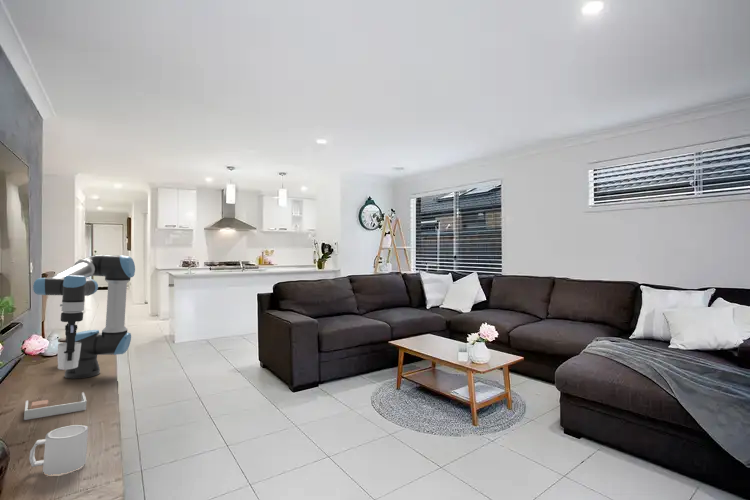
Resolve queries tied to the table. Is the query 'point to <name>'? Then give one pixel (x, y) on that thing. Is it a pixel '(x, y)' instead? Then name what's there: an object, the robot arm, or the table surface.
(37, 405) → the salmon pink block
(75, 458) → the mug
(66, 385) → the table surface
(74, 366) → the white cup
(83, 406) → the frame
